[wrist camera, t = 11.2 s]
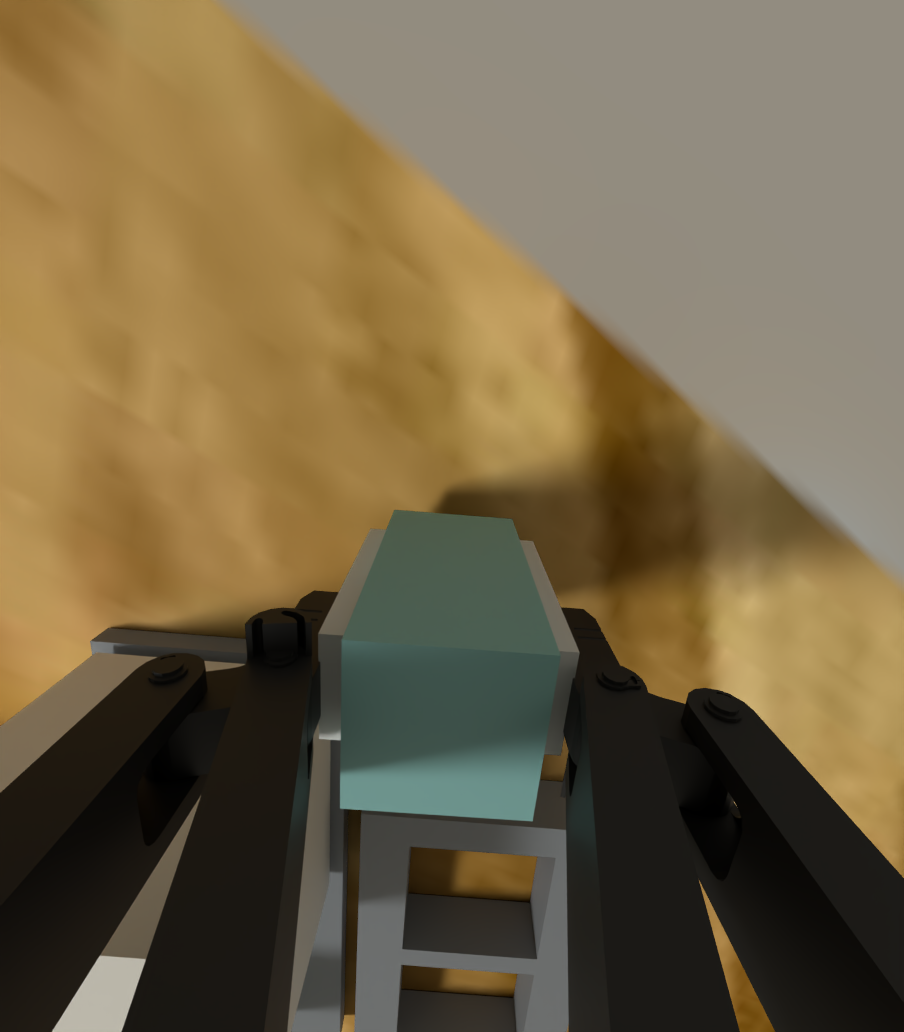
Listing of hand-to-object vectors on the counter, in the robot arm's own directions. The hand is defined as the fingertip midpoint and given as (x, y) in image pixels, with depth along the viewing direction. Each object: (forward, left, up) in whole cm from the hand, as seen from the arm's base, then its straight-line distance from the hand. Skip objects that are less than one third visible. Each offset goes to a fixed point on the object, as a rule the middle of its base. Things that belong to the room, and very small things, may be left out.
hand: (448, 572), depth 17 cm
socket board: (+19, +2, -2) cm, 19 cm away
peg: (0, 0, 0) cm, 0 cm away
